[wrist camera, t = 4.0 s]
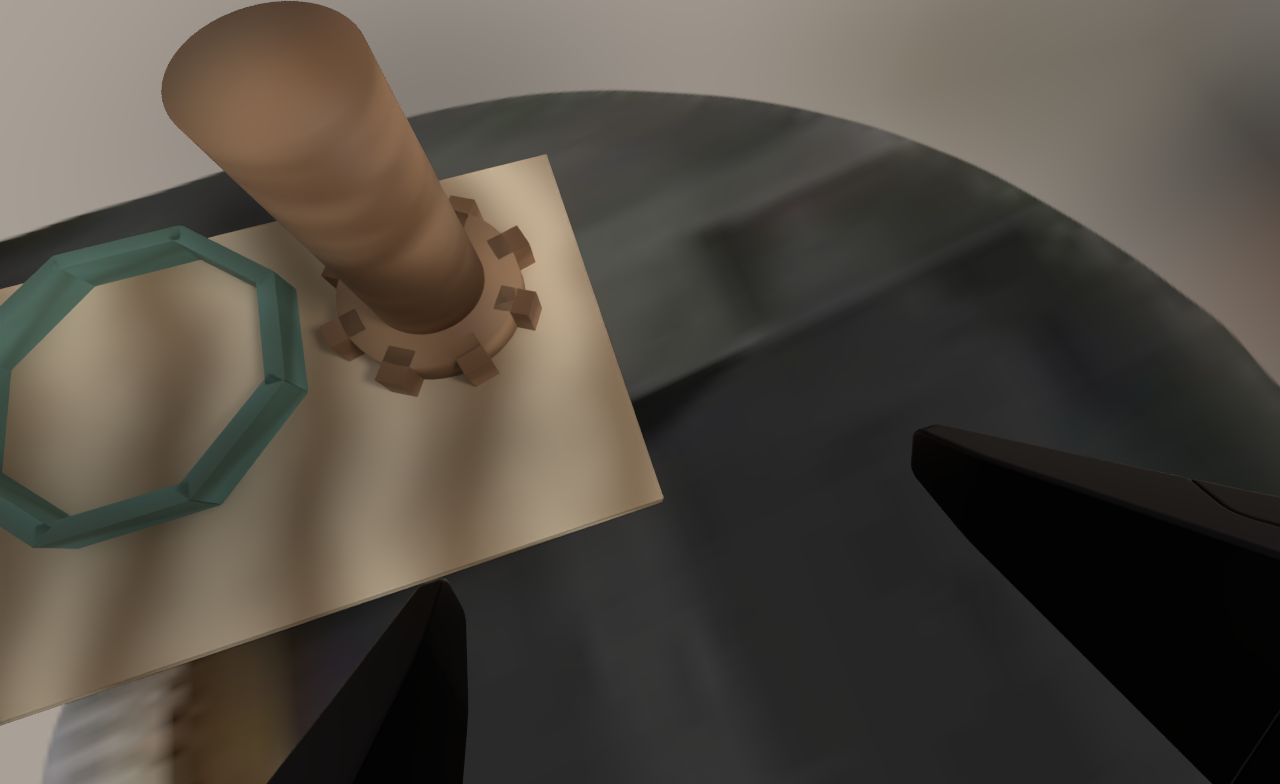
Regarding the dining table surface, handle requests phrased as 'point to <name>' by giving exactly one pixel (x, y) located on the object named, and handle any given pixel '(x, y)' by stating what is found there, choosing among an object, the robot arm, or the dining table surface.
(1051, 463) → the robot arm
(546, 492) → the gear board
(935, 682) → the dining table surface
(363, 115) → the gear
